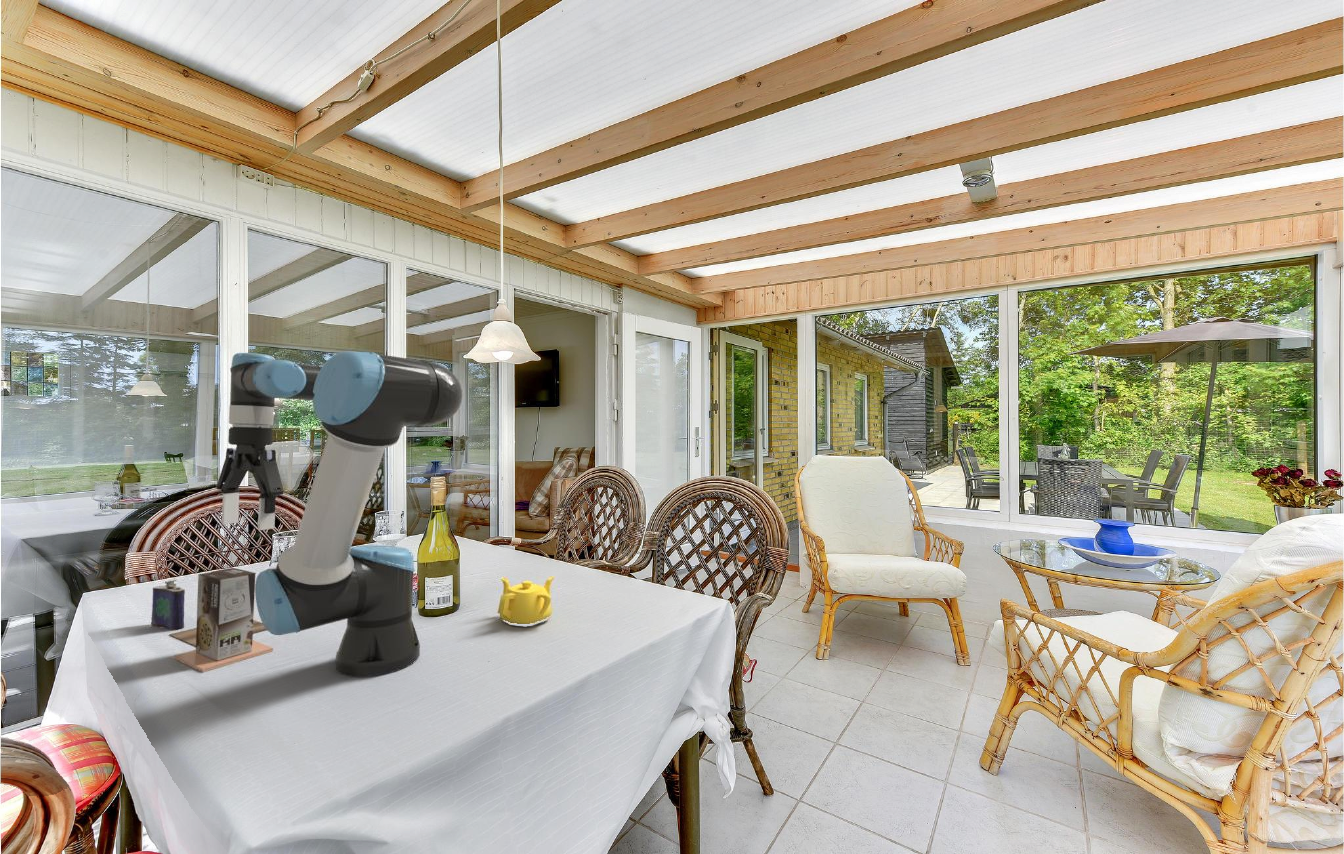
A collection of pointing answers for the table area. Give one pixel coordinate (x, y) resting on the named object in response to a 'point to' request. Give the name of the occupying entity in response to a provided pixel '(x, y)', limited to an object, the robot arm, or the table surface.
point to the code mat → (190, 634)
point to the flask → (168, 606)
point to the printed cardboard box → (225, 613)
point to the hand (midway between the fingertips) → (247, 526)
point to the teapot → (525, 602)
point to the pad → (208, 663)
